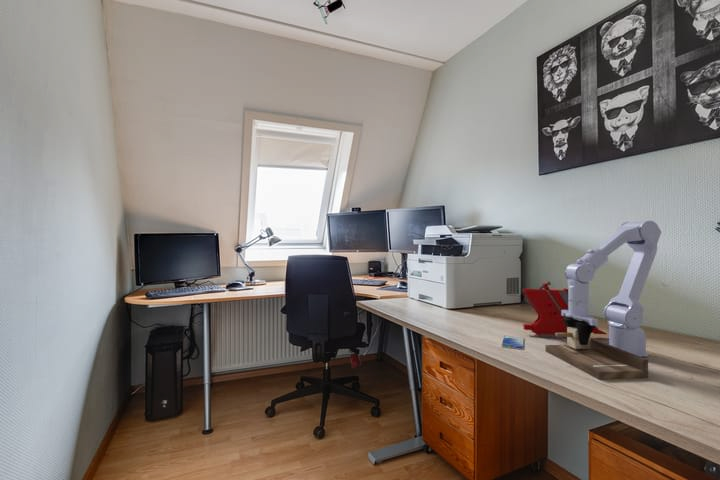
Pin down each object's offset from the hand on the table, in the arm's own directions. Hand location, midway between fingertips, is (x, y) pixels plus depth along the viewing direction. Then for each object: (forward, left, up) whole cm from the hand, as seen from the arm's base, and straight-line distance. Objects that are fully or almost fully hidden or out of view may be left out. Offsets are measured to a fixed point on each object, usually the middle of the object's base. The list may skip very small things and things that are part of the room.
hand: (578, 342), depth 114 cm
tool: (-9, -21, -4) cm, 24 cm away
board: (+2, +8, -4) cm, 9 cm away
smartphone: (+15, -14, -5) cm, 21 cm away
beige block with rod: (+3, 0, -1) cm, 3 cm away
